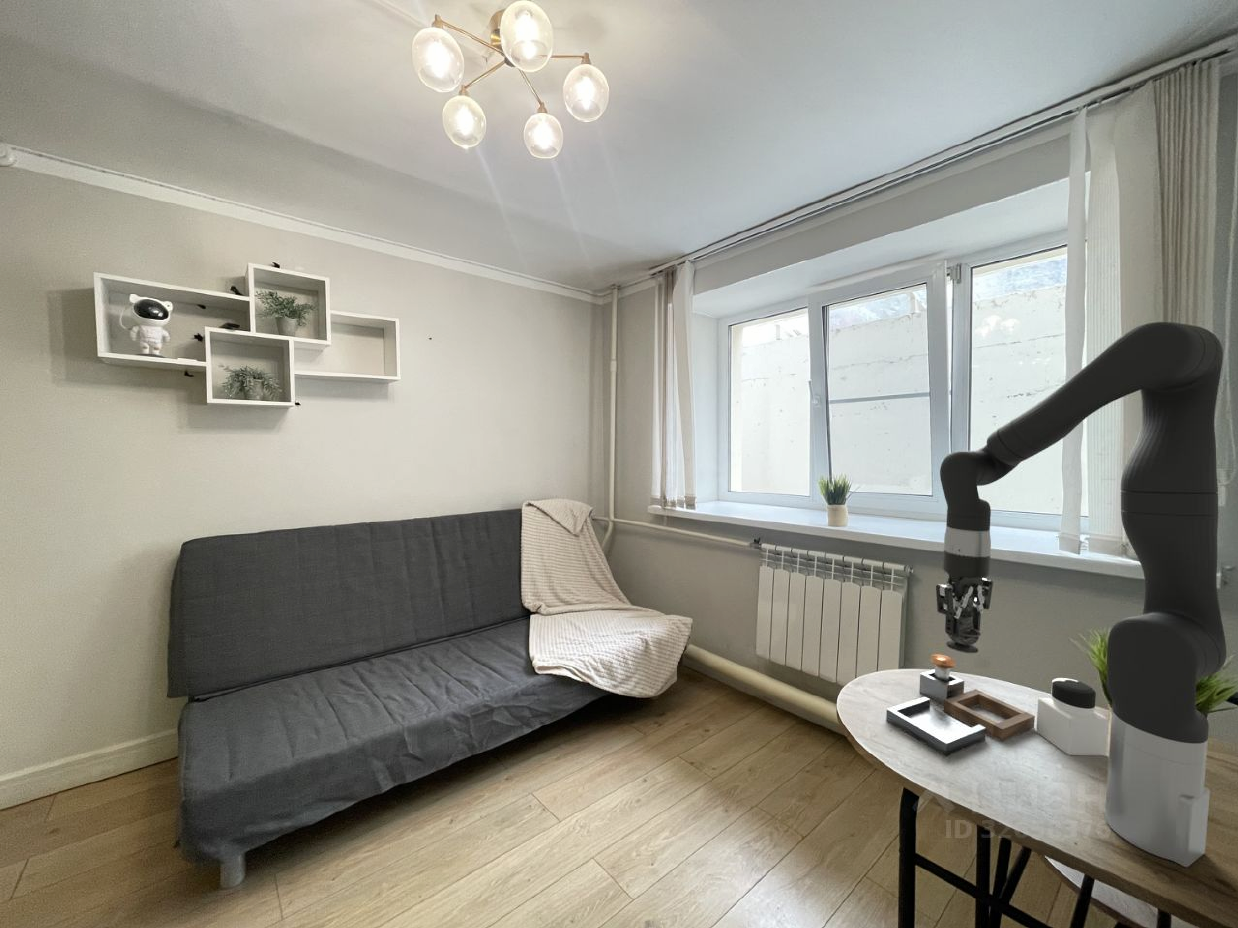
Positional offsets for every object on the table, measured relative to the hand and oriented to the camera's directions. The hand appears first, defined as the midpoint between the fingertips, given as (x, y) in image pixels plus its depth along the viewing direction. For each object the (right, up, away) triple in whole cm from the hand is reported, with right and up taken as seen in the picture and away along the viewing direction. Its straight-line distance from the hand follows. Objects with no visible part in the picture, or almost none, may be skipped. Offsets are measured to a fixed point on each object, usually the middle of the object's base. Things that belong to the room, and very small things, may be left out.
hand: (962, 632), depth 95 cm
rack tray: (-6, -20, 0) cm, 20 cm away
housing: (+4, -19, +12) cm, 23 cm away
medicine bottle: (+17, -20, -4) cm, 27 cm away
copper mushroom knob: (+4, -17, +12) cm, 21 cm away
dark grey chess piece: (0, -3, 0) cm, 3 cm away
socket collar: (+8, -19, +3) cm, 21 cm away
